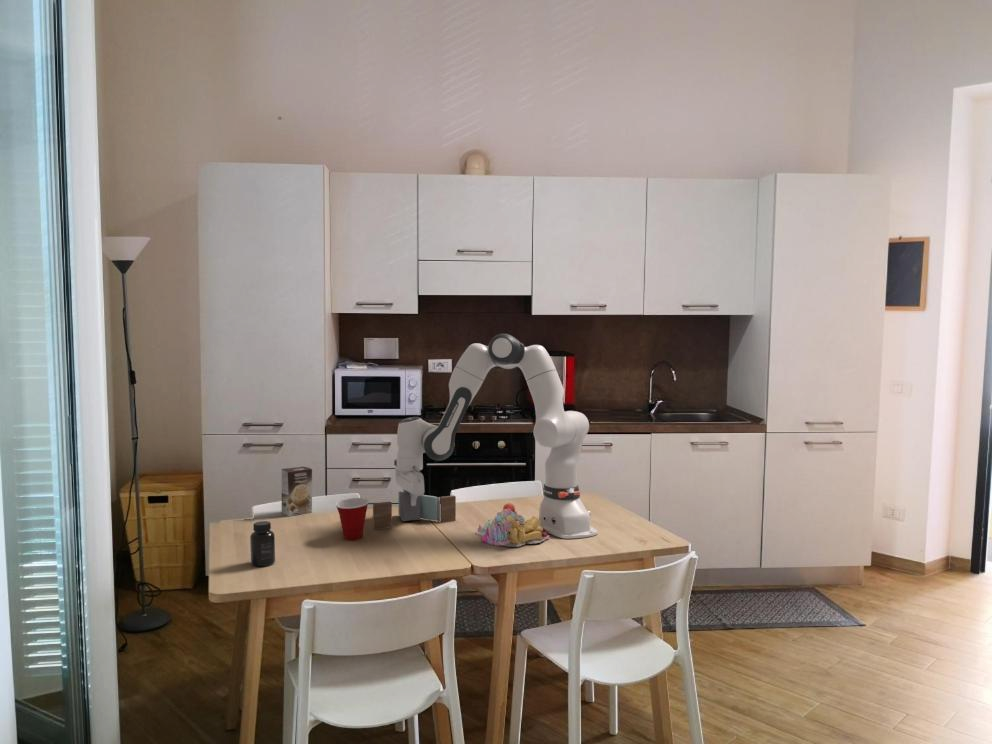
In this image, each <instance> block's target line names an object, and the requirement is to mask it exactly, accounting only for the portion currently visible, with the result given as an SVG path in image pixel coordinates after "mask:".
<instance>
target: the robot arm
mask: <svg viewBox="0 0 992 744" xmlns="http://www.w3.org/2000/svg"><path fill="white" fill-rule="evenodd" d="M493 368H496V369H500V370H501V369H502V370H506V371H509V370H510V371H511V370H514V369H517V368H519V369H520V370H521V373H522V374H523V377H524V379H525V381H526V384H527V386H528V390H529V392H530V395H531V399H532V401H533V404H534V410H535V424H534V427H533V432H532V433H533V437H534V440H535V441H536V442H537V444H538V445H540V447H541V446H542V447H544V448H551V450H550V452H549V455H548V456H547V458H546V460H545V462H544V484H543V488H542V493H543V498H542V501H541V502H540V504H539V511H538V512H539V514H538V519H539V520H540V521H541V523H540V524H539V525H540V526H541V527H542V528H544V529H545V530H546V531H548V532H549V534H550V535H551V536H555V537H557V538H560V539H567V540H568V539H580V538H581V539H582V538H589V537H593V536H596V535H598V534H599V533H598V530H597V529H596V528H595V527H594V526H592V525H591V516H592V515H591V511H590V510H587V508H586V507H585V504H584V503H583V502H582V499H581V498H580V497H581V490H580V488H579V485H578V472H579V471H578V470H579V469H578V468H579V467H578V466H579V459H580V455H581V451H582V446H583V443H584V440H585V438H586V436H587V434H588V432H589V431H590V422H589V419H588V418H587V415H585V414H584V413H582V412H579V411H575V410H566V411H565V409H564V402H563V401H564V395H565V388H564V386H563V383H562V381H561V379H560V376H559V373H558V371H557V368H556V366H555V363H554V362H553V360H552V358H551V356H550V354H549V352H548V351H547V350H546V348H545V347H544V346H543V345H540V344H532V345H529V346H525V345H524V343H522V342H520V341H519V339H517V338H516V337H515V336H513V335H511V334H508V333H499V334H497V335H494V337H492V338H491V339H490V341H489V343H488V345H485V344H482V343H477V342H476V343H472V344H470V345H469V346H467V348H466V349H465V351H464V352H463V353H462V354H461V356H460V358H459V360H458V361H457V362H456V365H455V367H454V368H453V371H452V373H451V376H450V378H449V382H448V389H449V400H448V401H449V402H448V405H447V407H446V409H445V412H444V413H443V416H442V417H441V420H440V422H439V424H438V425H436V424H435V425H434V424H432V423H429V422H427V421H425V420H423V419H422V418H421V417H419V416H410V417H406V418H403V419H402V420H401V421H399V423H398V427H397V433H396V445H397V449H398V450H397V454H396V458H395V459H393V465H394V466H395V467H394V470H395V471H394V473H395V482H396V485H397V486H399V487H400V488H401V489H402V492H409V493H410V496H411V500H410V505H411V506H415V505H416V500H417V497H418V496H423V495H425V479H424V474H423V473H422V472H421V471H422V470H423V468H424V459H423V457H424V456H423V454H425V455H426V456H427V457H428V458H429V459H431V460H432V461H437V462H438V461H444V460H446V459H448V458H449V457H450V456H452V454H453V452H454V450H455V445H456V444H455V443H456V441H455V440H456V434H457V432H458V430H459V427H460V425H461V423H462V421H463V418H464V416H465V414H466V412H467V410H468V407H469V406H470V405H471V403H472V401H473V400H474V398H475V396H476V395H477V393H478V392H479V390H480V389H481V387H482V385H483V383H484V381H485V379H486V377H487V375H488V373H489V372H490V370H491V369H493Z"/></svg>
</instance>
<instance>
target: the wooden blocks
mask: <svg viewBox="0 0 992 744" xmlns="http://www.w3.org/2000/svg"><path fill="white" fill-rule="evenodd" d="M456 499H457V497H456V495H447V496H446V495H445V496H444V495H443V496H440V521H439V522H441V523H445V522H446V523H447V522H456V519H457V518H456V510H457V509H456V507H457V506H456V504H457V502H456V501H457V500H456ZM392 506H393V503H392V501H382V502H373V504H372V528H373V530H381V529H382V530H383V529H392V528H393V519H392V518H393V517H392V514H393V510H392V509H393V507H392Z"/></svg>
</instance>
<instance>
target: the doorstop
mask: <svg viewBox="0 0 992 744" xmlns="http://www.w3.org/2000/svg"><path fill="white" fill-rule="evenodd" d="M402 492H403V491H402ZM410 500H411V496H410V493H409V492H403V493H400V515H399V518H400V519H401V520H402V521H403V522H409V521H418V520H421V518H420V496H418V497H417V500H416V505H415V506H411V505H410Z"/></svg>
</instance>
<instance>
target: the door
mask: <svg viewBox="0 0 992 744" xmlns="http://www.w3.org/2000/svg"><path fill="white" fill-rule="evenodd" d="M400 493H403V491H398V515H399V516H400ZM440 509H441V496H439V497H438V496H434V495H426V494H424V495H423V496H420V519H422V520H427V521H428V520H429V521H436V522H441V521H440Z"/></svg>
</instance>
